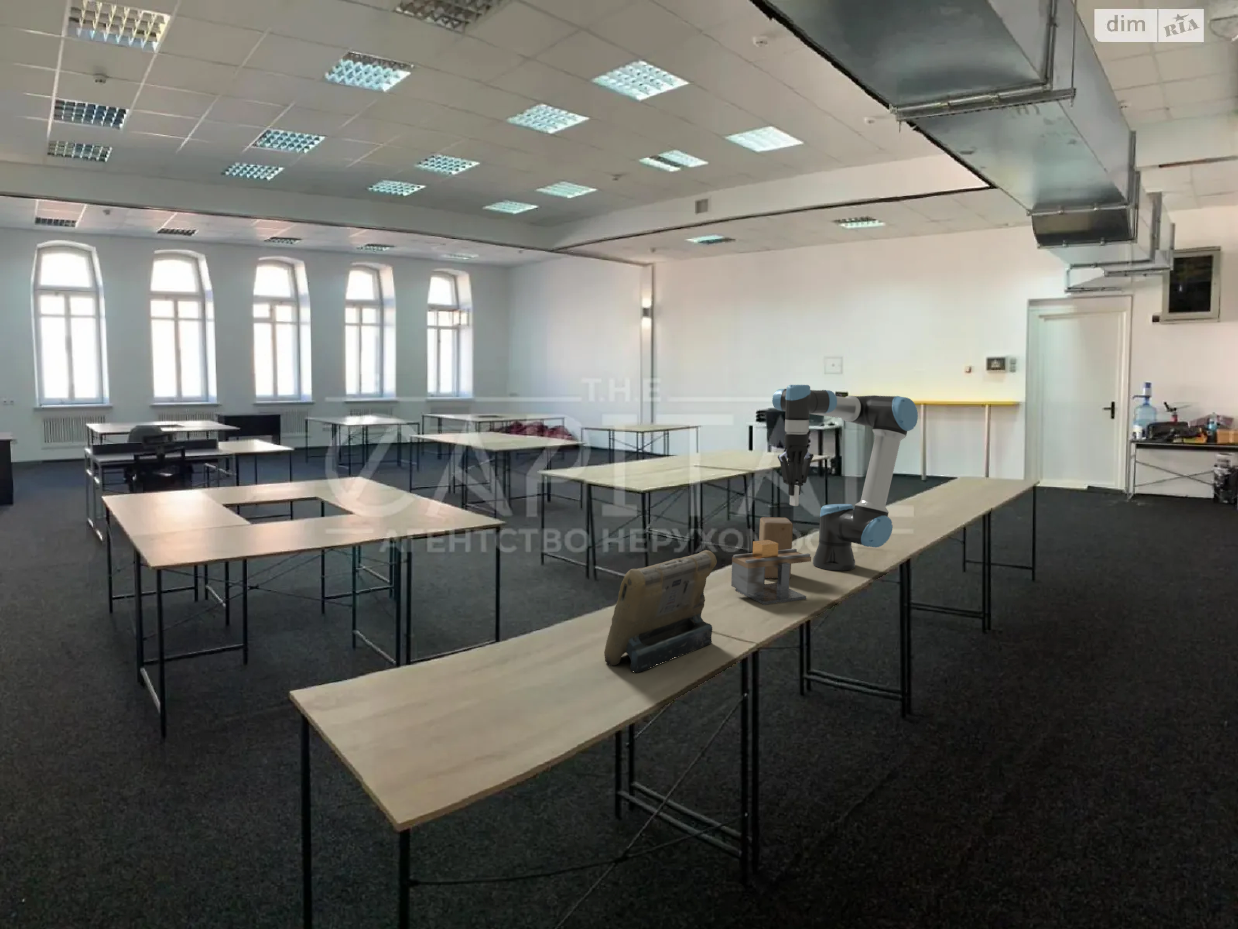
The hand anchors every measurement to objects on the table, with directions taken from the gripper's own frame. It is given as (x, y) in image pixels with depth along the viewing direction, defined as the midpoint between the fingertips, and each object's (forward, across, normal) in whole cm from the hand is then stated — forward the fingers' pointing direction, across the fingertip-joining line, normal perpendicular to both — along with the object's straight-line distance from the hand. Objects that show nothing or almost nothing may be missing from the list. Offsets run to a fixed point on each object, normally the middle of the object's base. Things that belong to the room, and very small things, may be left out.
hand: (793, 505), depth 246 cm
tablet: (+28, +66, +32) cm, 78 cm away
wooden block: (+29, -5, -16) cm, 34 cm away
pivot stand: (+28, +10, +2) cm, 30 cm away
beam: (+25, +10, +2) cm, 27 cm away
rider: (+16, +12, +2) cm, 20 cm away
